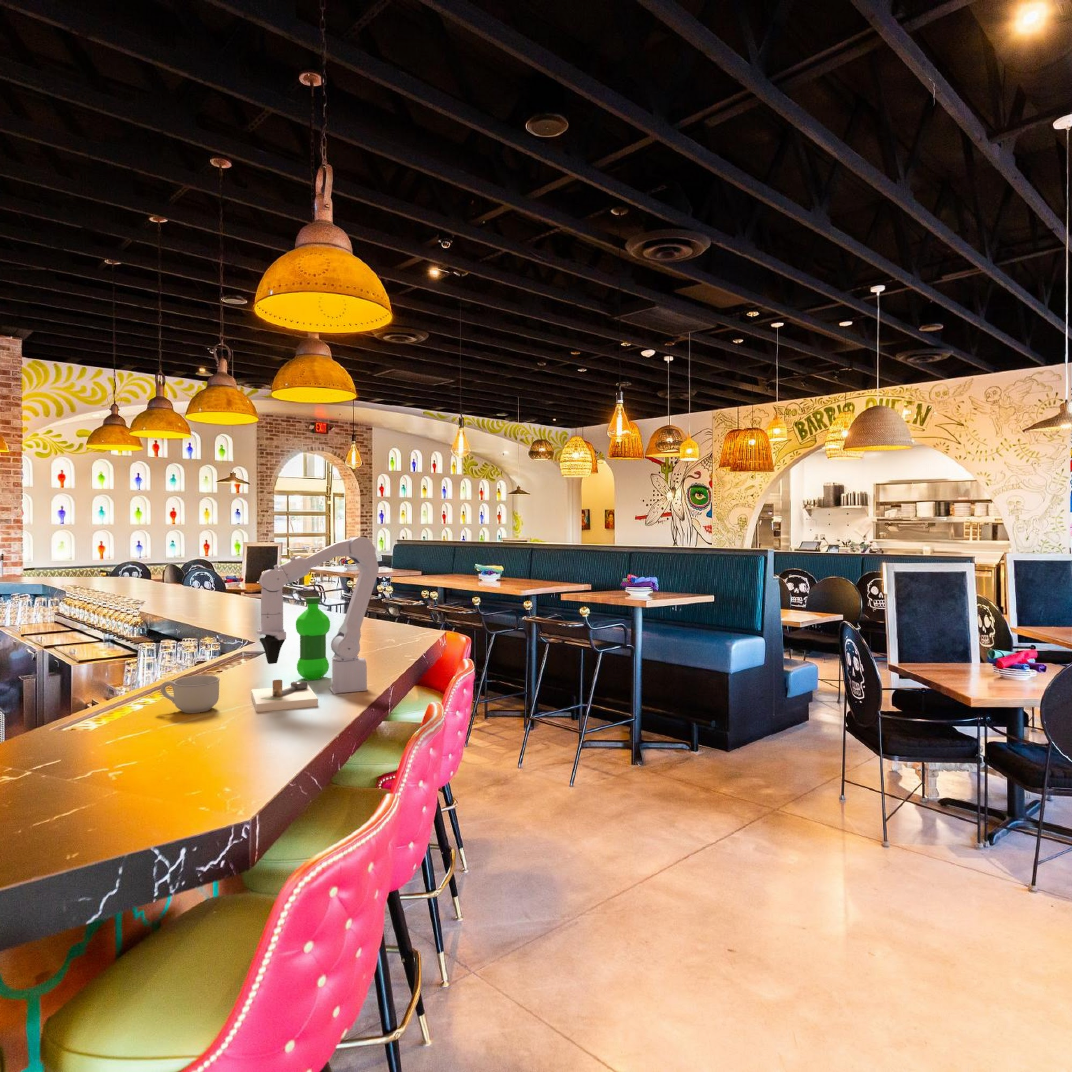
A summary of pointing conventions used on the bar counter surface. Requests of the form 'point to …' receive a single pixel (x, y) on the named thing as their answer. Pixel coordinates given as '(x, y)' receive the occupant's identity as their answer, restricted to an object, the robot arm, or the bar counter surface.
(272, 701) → the board
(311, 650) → the plastic bottle
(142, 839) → the bar counter surface
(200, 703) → the teacup
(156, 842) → the bar counter surface
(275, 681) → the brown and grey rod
